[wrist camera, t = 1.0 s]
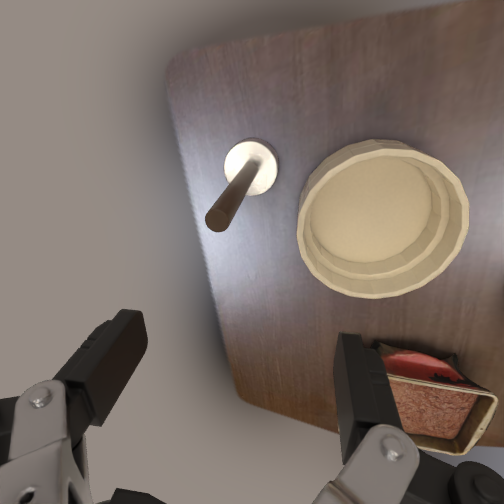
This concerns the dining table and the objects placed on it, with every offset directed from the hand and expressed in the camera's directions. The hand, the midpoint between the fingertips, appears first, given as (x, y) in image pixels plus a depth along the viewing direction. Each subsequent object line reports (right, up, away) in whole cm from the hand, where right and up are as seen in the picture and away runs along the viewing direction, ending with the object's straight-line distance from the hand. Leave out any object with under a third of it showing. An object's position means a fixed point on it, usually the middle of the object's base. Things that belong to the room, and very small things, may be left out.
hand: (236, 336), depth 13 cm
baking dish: (+22, -14, +33) cm, 42 cm away
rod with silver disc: (+1, +13, +21) cm, 25 cm away
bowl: (+13, +8, +22) cm, 27 cm away
